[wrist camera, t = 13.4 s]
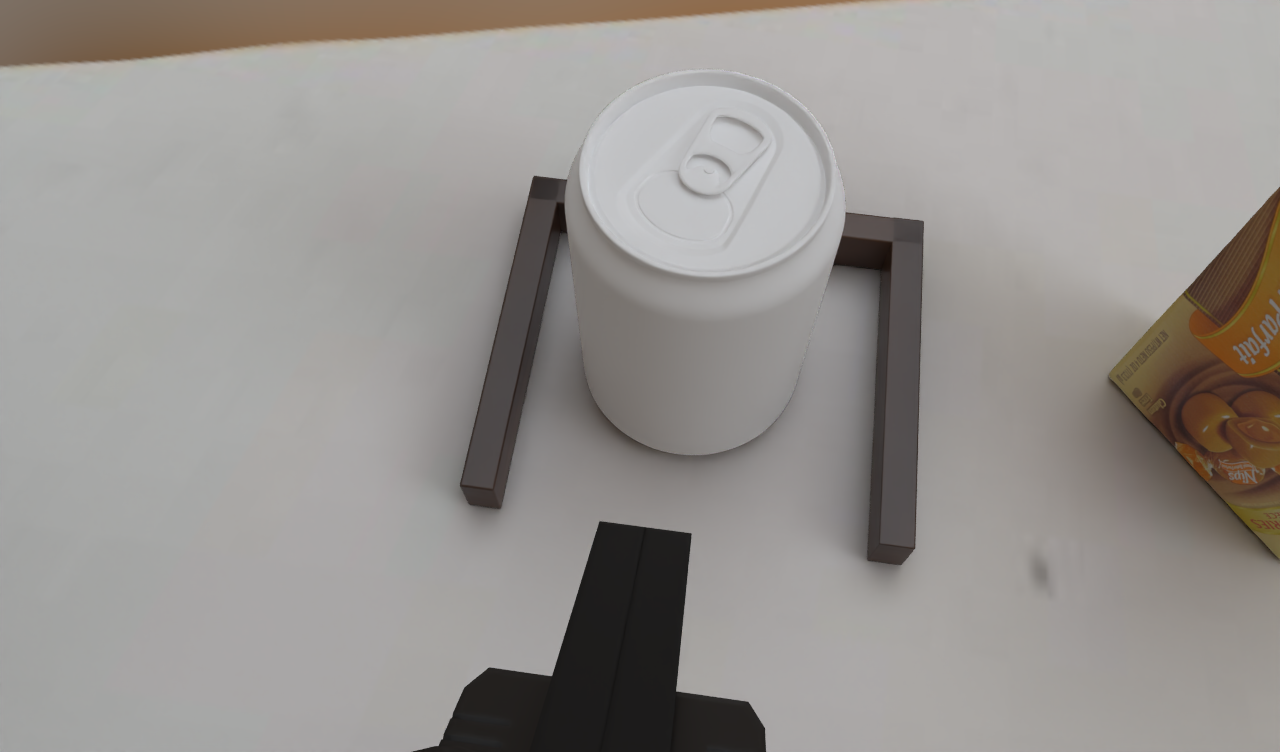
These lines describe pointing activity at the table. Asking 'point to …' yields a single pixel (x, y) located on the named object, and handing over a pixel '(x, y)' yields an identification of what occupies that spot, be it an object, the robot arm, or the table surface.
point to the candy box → (1222, 374)
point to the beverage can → (700, 255)
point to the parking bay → (860, 246)
